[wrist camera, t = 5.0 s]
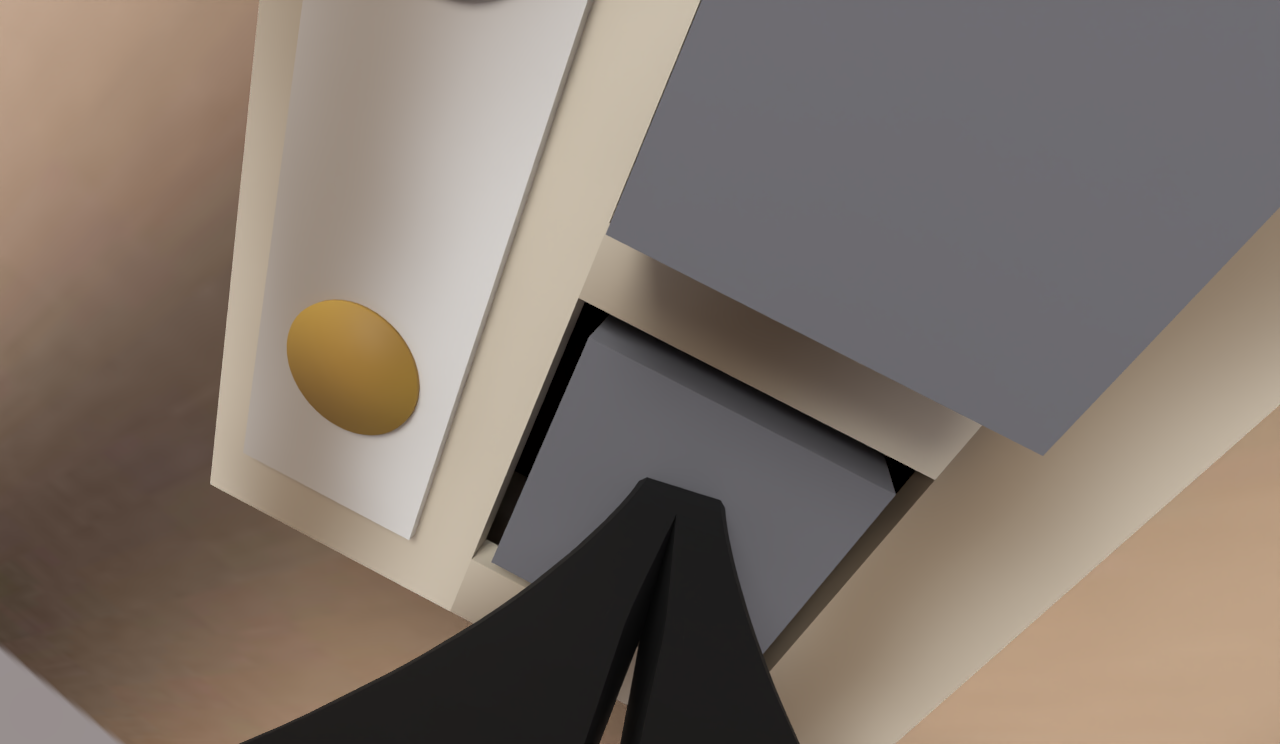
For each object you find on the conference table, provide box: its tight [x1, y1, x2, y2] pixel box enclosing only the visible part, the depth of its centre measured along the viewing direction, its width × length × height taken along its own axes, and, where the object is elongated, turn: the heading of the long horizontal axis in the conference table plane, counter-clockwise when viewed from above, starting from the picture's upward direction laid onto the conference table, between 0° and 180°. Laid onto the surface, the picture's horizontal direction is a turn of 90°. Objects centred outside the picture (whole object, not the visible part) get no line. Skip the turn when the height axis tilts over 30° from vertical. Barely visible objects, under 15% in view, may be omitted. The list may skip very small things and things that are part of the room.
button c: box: [492, 314, 896, 654], centre depth 11 cm, size 5×5×4 cm
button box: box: [210, 0, 1280, 744], centre depth 8 cm, size 14×23×4 cm, turn 156°
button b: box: [606, 0, 1280, 456], centre depth 6 cm, size 5×5×4 cm
